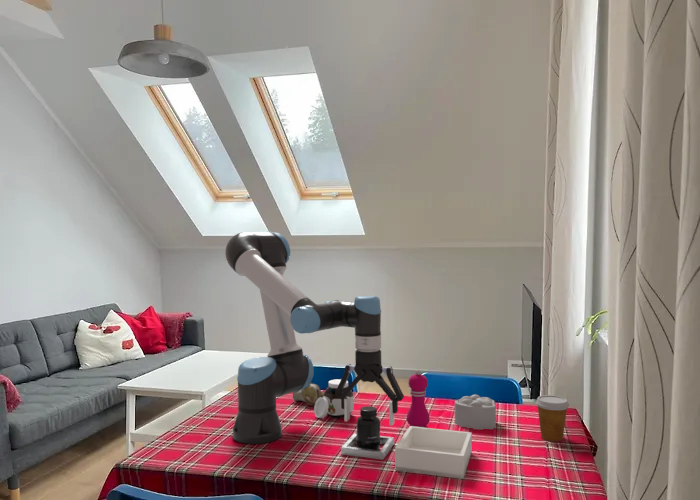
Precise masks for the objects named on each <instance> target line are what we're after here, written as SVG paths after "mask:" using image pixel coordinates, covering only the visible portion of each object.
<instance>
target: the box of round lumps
mask: <svg viewBox="0 0 700 500" xmlns="http://www.w3.org/2000/svg"><path fill="white" fill-rule="evenodd" d="M496 406H497V405H496V403H495V400H494V399H491V398H490V397H487V396H480V395H478V394H472V395H469V396H468V395H465V396H462V397H461V398H460V399H459V398H458V399H456V400H455V401H454V424H455V425H456V424H457V426H458V425H459V427H461V426H462V427H461V428H464V427H467V428H466V429H469V428H473V429H472V430H483V429H490V430H495V429H496V428H497V427H496V426H497V425H496V424H497V423H496V422H497V421H496V415H497V411H496V410H497V409H496V408H497V407H496ZM494 428H495V429H494Z"/></svg>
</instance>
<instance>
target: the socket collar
mask: <svg viewBox="0 0 700 500" xmlns="http://www.w3.org/2000/svg"><path fill="white" fill-rule="evenodd" d="M355 444H357V432H354V433H353V434H352V435H351V436H350V437H349V438H348V439H347V441H346V442H345V443H343V445H342V446H341V448H340V450H341V451H340V453H341V455H342V456H343V455H344V456H352V457H360V458H369V459H375V460H385V458H386V456H387V455H388V453H390V451H391V449H392V448H393V446H394V445H395V437H394V436H385V435H380V445H383V446H382V447H381V449H379V450H372V449H364V448H357V446H356V447H355Z"/></svg>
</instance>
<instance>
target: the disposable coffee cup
mask: <svg viewBox="0 0 700 500" xmlns="http://www.w3.org/2000/svg"><path fill="white" fill-rule="evenodd" d="M535 404H536V406H537V412H538V413H537V414H538V419H539V420H538V421H539V429H540V438H542V439H543V440H545V441H549V442H561V441H563V440H564V433H565V426H566V420H567V418H566V417H567V412H568V409H569V407H570V405H569V403H568V400H567V399H566V398H565V397H564V396H558V395H552V394H547V395H546V394H544V395H543V394H542V395H539V396H538V397H537V399H536V401H535Z"/></svg>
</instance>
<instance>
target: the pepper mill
mask: <svg viewBox="0 0 700 500" xmlns="http://www.w3.org/2000/svg"><path fill="white" fill-rule="evenodd" d="M428 385H429V384H428V378H427V377H426V376H425V375H424V374H422V371H421V370H420V369H416V370H415V374H412V375H411V376H410V377H409V379H408V387H409V388H410V390H409V392H410V393H409V394H410V395H411V404H410V407H409V408H408V411H407V413H406V414H407V415H406V422H407V423H408V427H407V429H408V428H409V426H415V427H424V428H429V427H428V425H429V423H430V413H429V412H428V409H427V406H426V403H425V398H426V397H425V396H427V393H426V392H427V390H426V389H427V387H428Z"/></svg>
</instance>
